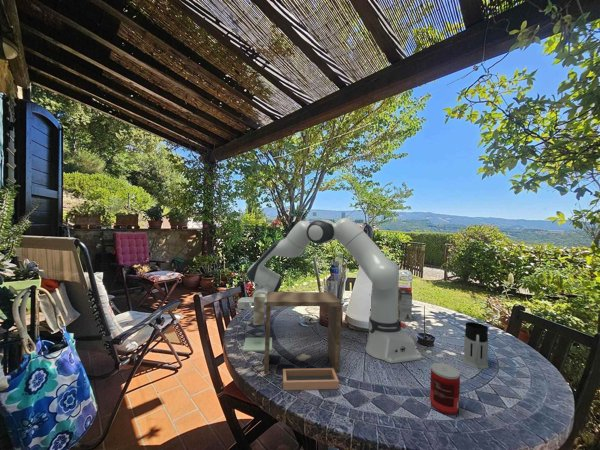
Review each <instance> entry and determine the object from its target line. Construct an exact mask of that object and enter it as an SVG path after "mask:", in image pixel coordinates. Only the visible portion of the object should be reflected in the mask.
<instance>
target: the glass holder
mask: <svg viewBox="0 0 600 450" xmlns="http://www.w3.org/2000/svg"><path fill="white" fill-rule="evenodd" d="M464 331H465V332H464V348H463V358H462V361H463V362H464V364H466V365H468V366H470V367H473V368H477V369H483V370H486V369H488V368H490V367H489V364H488V358H489V357H488V356H489V354H488V351H489V338H488V336H489V335H488V334H489V327H488V326H487V325H485V324H482V323H479V322H472V321H471V322H470V321H469V322H465V330H464Z"/></svg>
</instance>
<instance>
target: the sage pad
mask: <svg viewBox="0 0 600 450" xmlns="http://www.w3.org/2000/svg"><path fill="white" fill-rule="evenodd" d="M272 351H273V338H272V337H270V345H269V352H272ZM242 352H265V337H245V339H244V343H243V346H242Z"/></svg>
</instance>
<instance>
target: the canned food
mask: <svg viewBox="0 0 600 450" xmlns="http://www.w3.org/2000/svg"><path fill="white" fill-rule="evenodd" d="M430 365H431V366H430V384H429V385H430V386H429V389H430V390H429V392H430V393H429V401H430V403H431V405H432V407H433V408H434V409H435V410H437V411H438V412H441V413H442V414H445V415H455V414H457V413H458V412H459V410H460V409H459V408H460V391H461V390H460V386H461V382H460V381H461V373H460V371H459V370H458V369H457V368H456V367H453V366H452V365H449V364H447V363H442V362H434V363H432V364H430Z"/></svg>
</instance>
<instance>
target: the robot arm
mask: <svg viewBox="0 0 600 450" xmlns="http://www.w3.org/2000/svg"><path fill="white" fill-rule="evenodd" d="M334 240H336V241H338V242H339V243H340V244H341V245H342V246H343V247H344V248H345V250H347V252H348V253H349V254H350V255H351V256H352V257H353V259H354V260H355V261H356V262H357V263H358V265H359V266H360V268H361V269H362V271H363V272H364V274H365V275H366V277H368V279H369V281H370V282H371V284H372V285H371V295H370V296H371V309H370V312H369V314H370V315H369V318H368V337H367V342H366V345H365V348H364V350H365V352H366V353H367V355H369V356H371V357H373V358H375V359H379V360H383V361H384V362H387V363H390V364H396V363H403V362H404V363H405V362H412V361H419V360H422V354H421V352H420V351H419V350H418V349H417V348H416V344H415V341H414V339H413V338H412V336H410V335H409V334H408V333H407V332H405V330H403V329H406V328H407V324H406V323H404V321H400V319H399V318H398V295H399V286H400V285H399V284H400V283H399V281H400V269H399V267H398V264H396V262H394V261H393V260H392V259H388V258H387V256H386V255H385V254H384V253H383V252H382V251H381V249H380V248H379V247H378V246H377V244H376V243H375V242H374V241H373V240H372V238H370V236H369V235H368V234H367V233H366V232H365V231H364V230H363V229H362V228H361V227H360V226H359V225H358V224H357V223H355V222H354V221H353V219H350V218H348V217H342V218H340V219H338V220H337V221H336V222H335V221H334V220H333V219H316V220H314V221H312V222H310V221H306V220H300V221H298V222H297V223H296V224H295V225H294V226H293V227H292V229H291V230H290V231H289V232H288V233H287V235H286V237H284V239H282V240H276V241H275V242H273V243H272V244H271V245H270V246H269V247H268V248H267V249H266V250H265V251H264V252H263V253H262V255H261V256H260V257H258V259H256V260H255V262H253V263H252V264H251V265H250V266H249V267H248V269H247V271H246V277H247V279H248V281H249V282H252V283H255V284H256V285H258V286H256V288H255V289H254V290H253V293H252V296H251V297H250V296H249V297H248V296H246V297H240V298H239V299H237V307H236V308H237V309H238V310H250V311H253V312H254V296H255V294H265V306H264V312H266V302H267V293H268V292H279V291H280V288H281V286H282V282H283V281H282V277H281V275H280V274H279V273H277V272H275V271H273V270H272V269H270V268H268V267H266V266H265V264H267V262H268V261H269V260H270V259H271V258H272V257H274V256H275V257H276V256H278V257H279V256H280V257H283V258H289V259H290V258H291V259H292V258H297V257H300V256H301V255H302V254H303V253H304V251H305V250H306V248H307V247H308V246H309V244H310V243H313V244H316V245H321V244H327V243H331V242H332V241H334ZM282 308H283V306H271V310H282Z"/></svg>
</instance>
